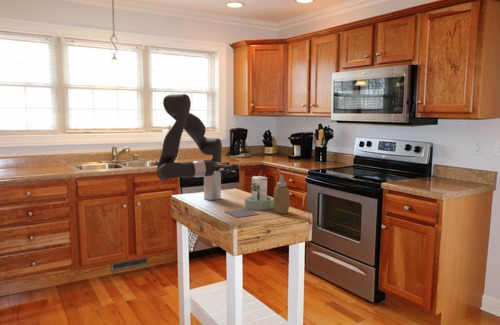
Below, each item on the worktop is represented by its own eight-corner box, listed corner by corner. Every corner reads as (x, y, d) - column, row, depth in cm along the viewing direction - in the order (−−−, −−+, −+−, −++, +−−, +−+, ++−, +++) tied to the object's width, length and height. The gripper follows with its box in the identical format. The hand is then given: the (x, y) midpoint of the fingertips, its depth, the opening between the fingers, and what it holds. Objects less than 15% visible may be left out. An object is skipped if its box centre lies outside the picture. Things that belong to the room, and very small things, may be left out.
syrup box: (250, 205, 198) (251, 176, 196) (260, 203, 202) (260, 175, 200) (258, 207, 194) (258, 178, 192) (267, 205, 197) (267, 177, 195)
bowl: (240, 205, 200) (240, 197, 200) (263, 202, 207) (263, 194, 207) (254, 211, 188) (254, 202, 188) (278, 208, 195) (279, 199, 195)
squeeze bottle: (283, 209, 192) (284, 173, 190) (293, 213, 185) (293, 175, 183) (269, 211, 188) (269, 174, 186) (278, 215, 181) (279, 176, 179)
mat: (224, 212, 187) (224, 211, 187) (246, 209, 193) (246, 208, 193) (236, 217, 177) (236, 217, 177) (259, 214, 183) (259, 213, 183)
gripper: (208, 162, 172) (240, 159, 180) (195, 158, 184) (226, 156, 192) (208, 179, 173) (240, 175, 181) (195, 174, 185) (226, 171, 193)
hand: (233, 165), depth 187 cm, fingers open, 8 cm apart
